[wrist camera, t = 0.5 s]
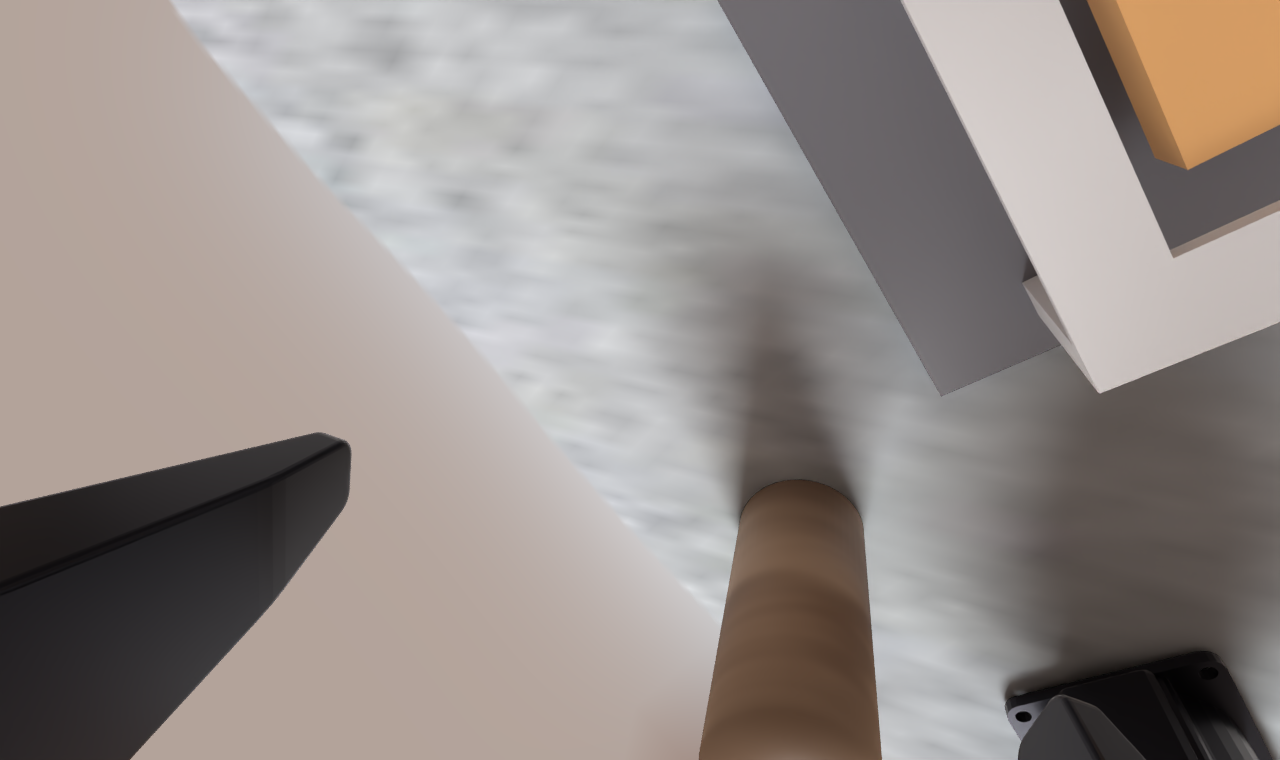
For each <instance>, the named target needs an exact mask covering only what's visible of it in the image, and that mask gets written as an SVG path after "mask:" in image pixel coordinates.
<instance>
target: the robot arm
mask: <svg viewBox="0 0 1280 760" xmlns="http://www.w3.org/2000/svg"><path fill="white" fill-rule="evenodd" d="M350 469H351V447H350V445H349V443H348V442H347V441H345V440H343V439H340V438H337V437H334V436H331V435H328V434H326V433H319V432H318V433H313V434H308V435H304V436H299V437H295V438H291V439H287V440H283V441H278V442H274V443H270V444H266V445H261V446H257V447H253V448H248V449H244V450H240V451H235V452H232V453H227V454H223V455H218V456H215V457H210V458H206V459H201V460H197V461H193V462H188V463H184V464H180V465H176V466H172V467H167V468H163V469H159V470H155V471H150V472H146V473H142V474H137V475H133V476H129V477H125V478H120V479H116V480H112V481H108V482H103V483H99V484H95V485H90V486H86V487H82V488H77V489H73V490H69V491H65V492H60V493H56V494H52V495H48V496H43V497H39V498H35V499H30V500H26V501H22V502H18V503H14V504H9V505H5V506H1V507H0V760H130V759H131V758H132V757H133V756H134V755H135V753H136V752H137V751H138V750H139V749H140V748H141V747H142V746H143V745H144V744H145V743H146V741H147V740H148V739H149V738H150V737H151V736H152V735H153V734H154V733H155V731H157V729H158V728H159V727H160V726H161V725H162V724H163V723H164V722H165V721H166V720H167V718H168V717H169V716H170V715H171V714H172V713H173V712H174V711H175V710H176V709H177V708H178V707H179V705H180V704H181V703H182V702H183V701H184V700H185V699H186V698H187V697H188V696H189V695H190V693H191V692H192V691H193V690H194V689H195V688H196V687H197V686H198V685H199V684H200V683H201V682H202V680H203V679H204V678H205V677H206V676H207V675H208V674H209V673H210V672H211V671H212V670H213V668H214V667H215V666H216V665H217V664H218V663H219V662H220V661H221V660H222V659H223V658H224V656H225V655H226V654H227V653H228V652H229V651H230V650H231V649H232V648H233V647H234V645H235V644H236V643H237V642H238V641H239V640H240V639H241V638H242V637H243V636H244V635H245V634H246V632H247V631H248V630H249V629H250V628H251V627H252V626H253V625H254V623H256V622H257V620H258V619H259V618H260V617H261V616H262V615H263V614H264V612H265V611H266V610H267V609H268V608H269V607H270V606H271V605H272V603H273V602H274V601H275V600H276V598H277V597H278V596H279V594H280V593H281V592H282V591H283V590H284V588H285V587H286V586H287V584H288V583H289V582H290V580H291V579H292V577H293V576H294V575H295V574H296V572H297V571H298V570H299V568H300V567H301V565H302V564H303V563H304V561H305V560H306V559H307V557H308V556H309V555H310V553H311V552H312V551H313V549H314V548H315V547H316V545H317V544H318V543H319V541H320V540H321V539H322V537H323V536H324V534H325V533H326V532H327V530H328V529H329V528H330V526H331V525H332V524H333V522H334V521H335V519H336V518H337V517H338V515H339V514H340V513H341V511H342V510H343V508H344V506H345V505H346V502H347V500H348V496H349V489H350ZM1205 667H1210V668H1208V669H1204V670H1201V669H1203V668H1205ZM1005 710H1006V713H1007V717H1008V720H1009V722H1010V724H1011V725H1012V727H1013V728H1014V730H1015V732H1016V733H1017V735H1018V736H1019V738H1020V740H1021V741H1022V742H1021V744H1020V748H1019V754H1018V760H1273V759H1272V757H1271V755H1270V753H1269V751H1268V749H1267V747H1266V745H1265V743H1264V741H1263V739H1262V737H1261V735H1260V733H1259V731H1258V729H1257V727H1256V725H1255V723H1254V721H1253V719H1252V717H1251V715H1250V713H1249V711H1248V709H1247V707H1246V705H1245V703H1244V701H1243V699H1242V697H1241V695H1240V693H1239V691H1238V689H1237V687H1236V685H1235V683H1234V681H1233V680H1232V678H1231V676H1230V674H1229V672H1228V670H1227V668H1226V666H1225V665H1224V663H1223V662H1222V660H1221V659H1220V658H1219V656H1218V655H1216V654H1214V653H1212V652H1207V651H1201V652H1194V653H1190V654H1186V655H1182V656H1178V657H1174V658H1170V659H1166V660H1162V661H1158V662H1154V663H1150V664H1146V665H1142V666H1138V667H1133V668H1129V669H1125V670H1121V671H1117V672H1113V673H1109V674H1105V675H1101V676H1097V677H1093V678H1089V679H1085V680H1081V681H1077V682H1073V683H1069V684H1064V685H1060V686H1056V687H1052V688H1048V689H1044V690H1040V691H1036V692H1032V693H1028V694H1024V695H1020V696H1016V697H1013V698H1010V699H1009V700H1008V701H1007V702H1006V703H1005ZM1020 711H1026V712H1021V713H1019V712H1020Z"/></svg>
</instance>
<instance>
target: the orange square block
mask: <svg viewBox="0 0 1280 760" xmlns="http://www.w3.org/2000/svg"><path fill="white" fill-rule="evenodd" d="M1087 2H1088V4H1089V7H1090V9H1091V11H1092V14H1093V16H1094V18H1095V20H1096V23H1097V25H1098V27H1099V30H1100V32H1101V34H1102V37H1103V39H1104V41H1105V44H1106V46H1107V48H1108V50H1109V53H1110V55H1111V57H1112V60H1113V62H1114V64H1115V67H1116V69H1117V71H1118V74H1119V76H1120V78H1121V81H1122V83H1123V85H1124V87H1125V90H1126V92H1127V94H1128V97H1129V99H1130V101H1131V104H1132V106H1133V108H1134V111H1135V113H1136V115H1137V117H1138V120H1139V122H1140V124H1141V127H1142V129H1143V131H1144V134H1145V136H1146V138H1147V141H1148V143H1149V145H1150V147H1151V150H1152V152H1153V154H1154V157H1155V158H1156V159H1159V160H1162V161H1164V162H1167V163H1170V164H1173V165H1175V166H1178V167H1181V168H1184V169H1187V170H1189V169H1191V168H1193V167H1195V166H1197V165H1199V164H1201V163H1203V162H1205V161H1207V160H1209V159H1211V158H1213V157H1215V156H1217V155H1219V154H1221V153H1223V152H1225V151H1227V150H1229V149H1231V148H1233V147H1235V146H1238V145H1240V144H1242V143H1244V142H1246V141H1248V140H1250V139H1252V138H1254V137H1256V136H1258V135H1260V134H1262V133H1264V132H1266V131H1268V130H1270V129H1272V128H1274V127H1276V126H1278V125H1280V0H1087Z"/></svg>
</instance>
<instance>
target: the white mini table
mask: <svg viewBox="0 0 1280 760" xmlns="http://www.w3.org/2000/svg"><path fill="white" fill-rule="evenodd" d="M718 2H719V4H720V5H721V7H722V9H723V11H724V12H725V14H726V16H727V18H728V20H729V21H730V23H731V25H732V27H733V28H734V30H735V32H736V34H737V35H738V37H739V39H740V41H741V43H742V44H743V46H744V48H745V50H746V51H747V53H748V55H749V57H750V59H751V60H752V62H753V64H754V66H755V67H756V69H757V71H758V73H759V74H760V76H761V78H762V80H763V82H764V83H765V85H766V87H767V89H768V90H769V92H770V94H771V96H772V98H773V99H774V101H775V103H776V105H777V106H778V108H779V110H780V112H781V113H782V115H783V117H784V119H785V121H786V122H787V124H788V126H789V128H790V129H791V131H792V133H793V135H794V137H795V138H796V140H797V142H798V144H799V145H800V147H801V149H802V151H803V152H804V154H805V156H806V158H807V160H808V161H809V163H810V165H811V167H812V168H813V170H814V172H815V174H816V176H817V177H818V179H819V181H820V183H821V184H822V186H823V188H824V190H825V191H826V193H827V195H828V197H829V199H830V200H831V202H832V204H833V206H834V207H835V209H836V211H837V213H838V214H839V216H840V218H841V220H842V222H843V223H844V225H845V227H846V229H847V230H848V232H849V234H850V236H851V238H852V239H853V241H854V243H855V245H856V246H857V248H858V250H859V252H860V253H861V255H862V257H863V259H864V261H865V262H866V264H867V266H868V268H869V269H870V271H871V273H872V275H873V277H874V278H875V280H876V282H877V284H878V285H879V287H880V289H881V291H882V292H883V294H884V296H885V298H886V300H887V301H888V303H889V305H890V307H891V308H892V310H893V312H894V314H895V316H896V317H897V319H898V321H899V323H900V324H901V326H902V328H903V330H904V331H905V333H906V335H907V337H908V339H909V340H910V342H911V344H912V346H913V347H914V349H915V351H916V353H917V354H918V356H919V358H920V360H921V362H922V363H923V365H924V367H925V369H926V370H927V372H928V374H929V376H930V378H931V379H932V381H933V383H934V385H935V386H936V388H937V390H938V392H939V393H940V395H941V396H943V395H946V394H948V393H950V392H953V391H955V390H957V389H960V388H962V387H964V386H967V385H969V384H971V383H973V382H976V381H978V380H980V379H983V378H985V377H987V376H990V375H992V374H994V373H997V372H999V371H1001V370H1004V369H1006V368H1008V367H1011V366H1013V365H1015V364H1018V363H1020V362H1022V361H1025V360H1027V359H1029V358H1031V357H1034V356H1036V355H1038V354H1041V353H1043V352H1045V351H1048V350H1050V349H1052V348H1055V347H1057V346H1059V345H1062V346H1063V348H1064V349H1065V350H1066V352H1067V353H1068V354H1069V355H1070V357H1071V358H1072V359H1073V361H1074V362H1075V363H1076V364H1077V366H1078V367H1079V368H1080V370H1081V371H1082V372H1083V374H1084V375H1085V376H1086V377H1087V379H1088V380H1089V381H1090V383H1091V384H1092V385H1093V386H1094V388H1095V389H1096V390H1097V392H1098V393H1099V394H1100V393H1103V392H1105V391H1108V390H1110V389H1113V388H1115V387H1118V386H1120V385H1123V384H1125V383H1128V382H1130V381H1133V380H1135V379H1138V378H1140V377H1143V376H1146V375H1148V374H1151V373H1153V372H1156V371H1158V370H1161V369H1163V368H1166V367H1168V366H1171V365H1173V364H1176V363H1178V362H1181V361H1183V360H1186V359H1188V358H1191V357H1194V356H1196V355H1199V354H1201V353H1204V352H1206V351H1209V350H1211V349H1214V348H1216V347H1219V346H1221V345H1224V344H1226V343H1229V342H1231V341H1234V340H1236V339H1239V338H1241V337H1244V336H1247V335H1249V334H1252V333H1254V332H1257V331H1259V330H1262V329H1264V328H1267V327H1269V326H1272V325H1274V324H1277V323H1279V322H1280V125H1278V126H1276V127H1274V128H1272V129H1270V130H1268V131H1266V132H1264V133H1262V134H1260V135H1258V136H1256V137H1254V138H1252V139H1250V140H1248V141H1246V142H1244V143H1242V144H1240V145H1238V146H1235V147H1233V148H1231V149H1229V150H1227V151H1225V152H1223V153H1221V154H1219V155H1217V156H1215V157H1213V158H1211V159H1209V160H1207V161H1205V162H1203V163H1201V164H1199V165H1197V166H1195V167H1193V168H1191V169H1189V170H1187V169H1184V168H1181V167H1178V166H1175V165H1173V164H1170V163H1167V162H1164V161H1162V160H1159V159H1156V158H1155V157H1154V154H1153V152H1152V150H1151V147H1150V145H1149V143H1148V141H1147V138H1146V136H1145V134H1144V131H1143V129H1142V127H1141V124H1140V122H1139V120H1138V117H1137V115H1136V113H1135V111H1134V108H1133V106H1132V104H1131V101H1130V99H1129V97H1128V94H1127V92H1126V90H1125V87H1124V85H1123V83H1122V81H1121V78H1120V76H1119V74H1118V71H1117V69H1116V67H1115V64H1114V62H1113V60H1112V57H1111V55H1110V53H1109V50H1108V48H1107V46H1106V44H1105V41H1104V39H1103V37H1102V34H1101V32H1100V30H1099V27H1098V25H1097V23H1096V20H1095V18H1094V16H1093V14H1092V11H1091V9H1090V7H1089V4H1088V2H1087V0H718Z"/></svg>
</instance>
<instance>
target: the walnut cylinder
mask: <svg viewBox="0 0 1280 760" xmlns="http://www.w3.org/2000/svg"><path fill="white" fill-rule="evenodd" d="M699 760H882V755H881V742H880V730H879V717H878V705H877V692H876V680H875V667H874V655H873V642H872V630H871V617H870V604H869V592H868V579H867V567H866V554H865V542H864V529H863V524H862V521H861V518H860V515H859V513H858V512H857V510H856V508H855V507H854V506H853V504H852V503H851V502H850V501H849V500H848V499H847V498H846V497H845V496H843V495H842V494H841V493H839V492H838V491H836V490H835V489H833V488H831V487H828V486H826V485H824V484H821V483H817V482H813V481H807V480H787V481H782V482H777V483H774V484H771V485H769V486H767V487H765V488H763V489H761V490H760V491H759V492H757V493H756V494H755V495H754V496H753V497H752V498H751V499H750V500H749V501H748V502H747V504H746V506H745V507H744V509H743V512H742V514H741V519H740V524H739V530H738V535H737V541H736V547H735V552H734V558H733V564H732V569H731V575H730V581H729V587H728V592H727V598H726V604H725V609H724V615H723V621H722V626H721V632H720V638H719V644H718V649H717V655H716V661H715V666H714V672H713V678H712V683H711V690H710V695H709V701H708V706H707V712H706V718H705V723H704V729H703V735H702V740H701V747H700V752H699Z"/></svg>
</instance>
